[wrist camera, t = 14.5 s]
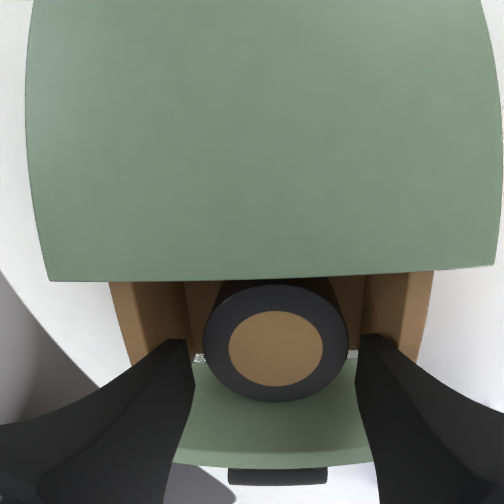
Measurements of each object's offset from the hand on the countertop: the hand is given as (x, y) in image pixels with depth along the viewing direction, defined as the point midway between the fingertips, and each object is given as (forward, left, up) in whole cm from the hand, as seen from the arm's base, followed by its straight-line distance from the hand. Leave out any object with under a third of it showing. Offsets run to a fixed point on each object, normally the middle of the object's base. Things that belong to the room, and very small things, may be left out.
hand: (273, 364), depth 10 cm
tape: (0, 0, -4) cm, 4 cm away
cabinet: (+11, 0, -6) cm, 12 cm away
